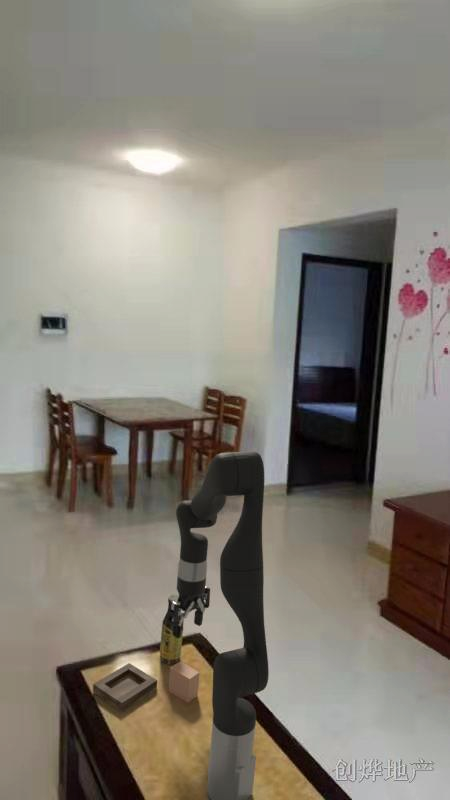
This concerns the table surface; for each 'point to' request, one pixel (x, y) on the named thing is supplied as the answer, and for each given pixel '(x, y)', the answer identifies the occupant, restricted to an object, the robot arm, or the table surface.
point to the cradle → (125, 686)
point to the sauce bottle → (170, 638)
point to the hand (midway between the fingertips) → (187, 630)
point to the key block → (183, 681)
